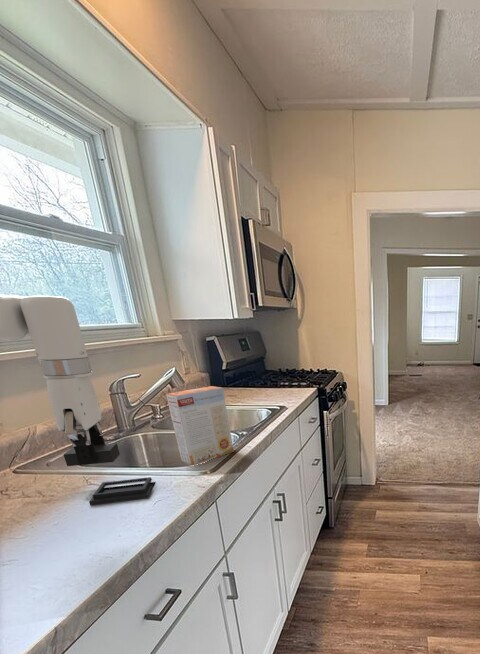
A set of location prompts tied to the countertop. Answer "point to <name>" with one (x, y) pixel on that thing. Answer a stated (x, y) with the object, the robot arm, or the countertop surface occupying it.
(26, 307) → the robot arm
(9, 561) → the countertop surface
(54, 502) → the countertop surface
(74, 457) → the top pad
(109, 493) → the base pad
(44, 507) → the countertop surface
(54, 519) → the countertop surface
